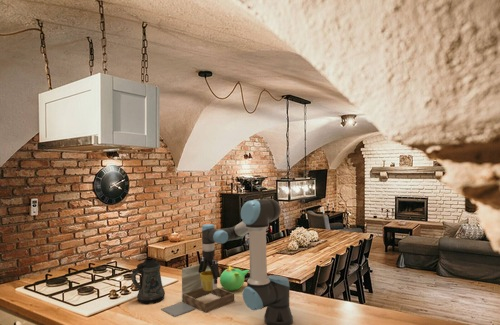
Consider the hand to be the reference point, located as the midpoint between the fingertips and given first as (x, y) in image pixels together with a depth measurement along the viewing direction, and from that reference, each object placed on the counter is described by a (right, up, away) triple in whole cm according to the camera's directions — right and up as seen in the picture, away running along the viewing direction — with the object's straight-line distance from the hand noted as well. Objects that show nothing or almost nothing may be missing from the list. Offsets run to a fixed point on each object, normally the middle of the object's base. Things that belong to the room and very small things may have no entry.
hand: (209, 287), depth 208 cm
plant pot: (0, -2, 0) cm, 2 cm away
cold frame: (0, -9, 0) cm, 9 cm away
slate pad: (-16, -9, -11) cm, 21 cm away
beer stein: (-37, -10, +4) cm, 38 cm away
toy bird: (+14, -10, +22) cm, 27 cm away
